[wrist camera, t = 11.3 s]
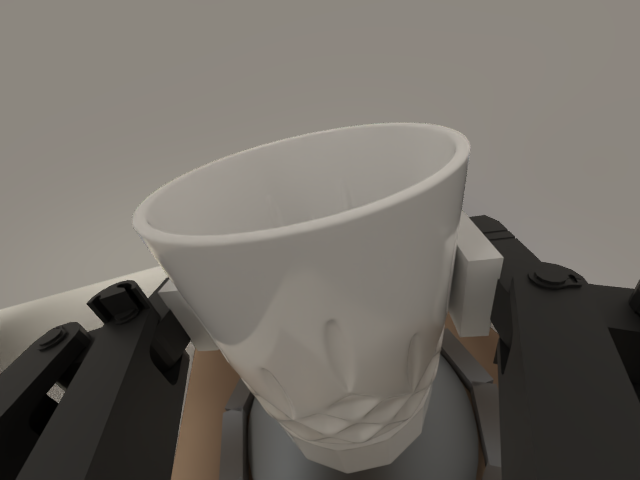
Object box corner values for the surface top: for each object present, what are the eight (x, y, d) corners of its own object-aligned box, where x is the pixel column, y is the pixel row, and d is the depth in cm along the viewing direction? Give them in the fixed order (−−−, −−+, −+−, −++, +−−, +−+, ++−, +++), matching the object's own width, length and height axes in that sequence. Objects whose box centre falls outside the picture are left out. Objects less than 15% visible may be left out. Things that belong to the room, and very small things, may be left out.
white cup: (233, 392, 12) (104, 198, 7) (341, 294, 17) (306, 127, 12) (369, 579, 7) (241, 337, 2) (478, 364, 11) (523, 112, 6)
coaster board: (90, 1097, 5) (3, 1207, 4) (205, 341, 20) (194, 323, 19) (787, 633, 7) (848, 626, 6) (415, 269, 23) (415, 250, 22)
